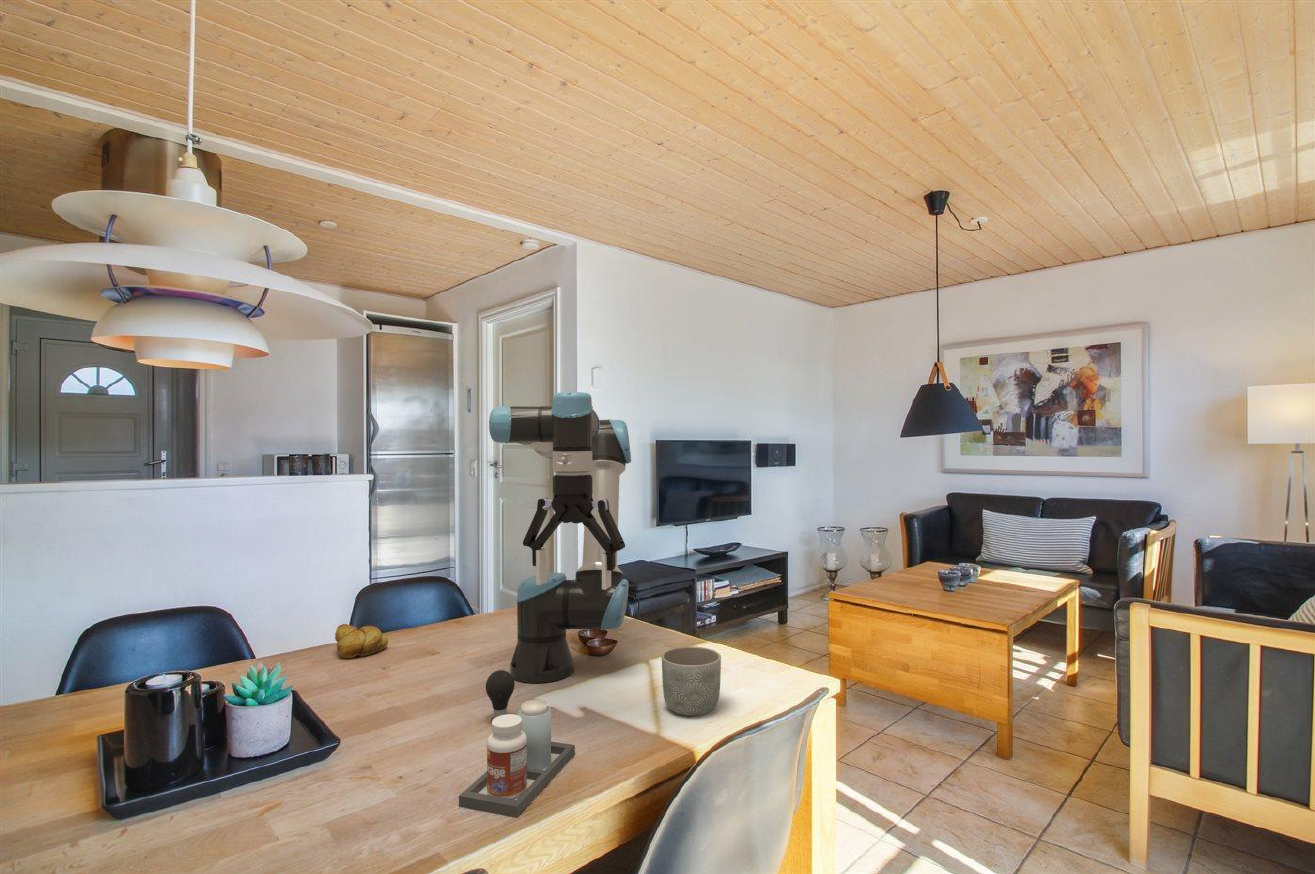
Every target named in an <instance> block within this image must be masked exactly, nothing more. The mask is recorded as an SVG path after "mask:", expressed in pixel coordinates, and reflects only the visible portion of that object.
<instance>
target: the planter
mask: <svg viewBox="0 0 1315 874" xmlns="http://www.w3.org/2000/svg"><path fill="white" fill-rule="evenodd" d="M721 666H722V656H721V653H720V652H718V651H716V650H715V649H711V648H708V647H702V646H691V645H690V646H688V645H687V646H679V647H674V648H669V649H668V650H665V651H664V652H663V653H662V654H661V673H662V675H661V677H662V692H663V699H664V703H665V705H666V706H667V708H668V709H669V710H670V711H672V712H673V713H675V714H678V715H682V716H688V717H698V716H703V715H706V714H709V713H711V712H712V711H714V710H715V709H716V708H717V705H718V704H719V699H720V694H721V676H722V675H721V674H722V673H721V671H722V670H721V669H722V668H721Z"/></svg>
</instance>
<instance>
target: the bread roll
mask: <svg viewBox="0 0 1315 874" xmlns="http://www.w3.org/2000/svg"><path fill="white" fill-rule="evenodd" d="M334 640H335V641H336V642H337V643H336V649H337V654H338V655H339V656H340V657H341V658H343V659H352V658H355V657H357V656H360V657H366V656H369V655H372V654H375V653H377V652H380V651H382V650H384V649H385V648H386V647H387V645H388V643H389V638H388V636H385V635H384V634H382V631H381V629H379V628H378V627H377V626H373V625H365V626H362V627H360V628H358V627H356V626H353V625H350V624H348V623H342V624H340V625H338V626H337V629H336V631H335V634H334Z"/></svg>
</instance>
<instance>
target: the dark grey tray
mask: <svg viewBox="0 0 1315 874" xmlns="http://www.w3.org/2000/svg"><path fill="white" fill-rule="evenodd" d="M575 754H576V745H575V744H570V743H566V742H565V743H564V742H557V741H551V764H550V765H549V766H548V767H547V768H545V769H543V770H539V769H533V768H527V786H526V789H525V791H524V792H523V793H522V794H521V795H519V796H518V797H515V798H513V799H508V798H502V797H497V796H492V795H488V793H487V770H486V771H485V772H484V773H483V774H482V775H480V777H478V778H477V779H476V780H475V781H473V783H472V784H471V785H469V786H468V787H467V788H466V789H465V790H464V791H463V792H461V794H459V795H458V807H460V808H464V809H465V808H466V809H471V810H475V811H481V812H486V813H490V814H491V813H492V814H497V815H503V816H508V817H512V818H519V816H520V815H521V814H523V812H524V811H525V809H527V808H528V806H529V805H530V804H531V803H532V802H533V801H534V800H535V799H536V797H537V796H538V795H539V794H541V792H542V791H543V790H544V788H546V787H547V785H548V784H549V783H550V782H551V780H553V779H554V778H555V777H556V775H557V774H558V773H559V772H560V771H561V770H562V769H563V768H564V767H565V766H566V764H568V763H569V761H570V760H571V759H573V756H574V755H575Z"/></svg>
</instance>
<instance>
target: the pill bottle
mask: <svg viewBox="0 0 1315 874" xmlns="http://www.w3.org/2000/svg"><path fill="white" fill-rule="evenodd" d="M521 729H522V718H521V717H520V716H518V714H513V713H510V714H509V713H507V714H506V715H501V716H498V717H496V718H495V719H494V718H493V719H492V721H491V732H492V733H491V734H490V735H489V737H488V738H487V741H486V742H487V743H486V771H487V793H488V795H492V796H497V797H502V798H508V799H513V798H515V797H518V796H519V795H521V794H522V793H523V792H524V791H525V789H526V786H527V736H526V734H525V733H524V732H523V731H522V730H521Z"/></svg>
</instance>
